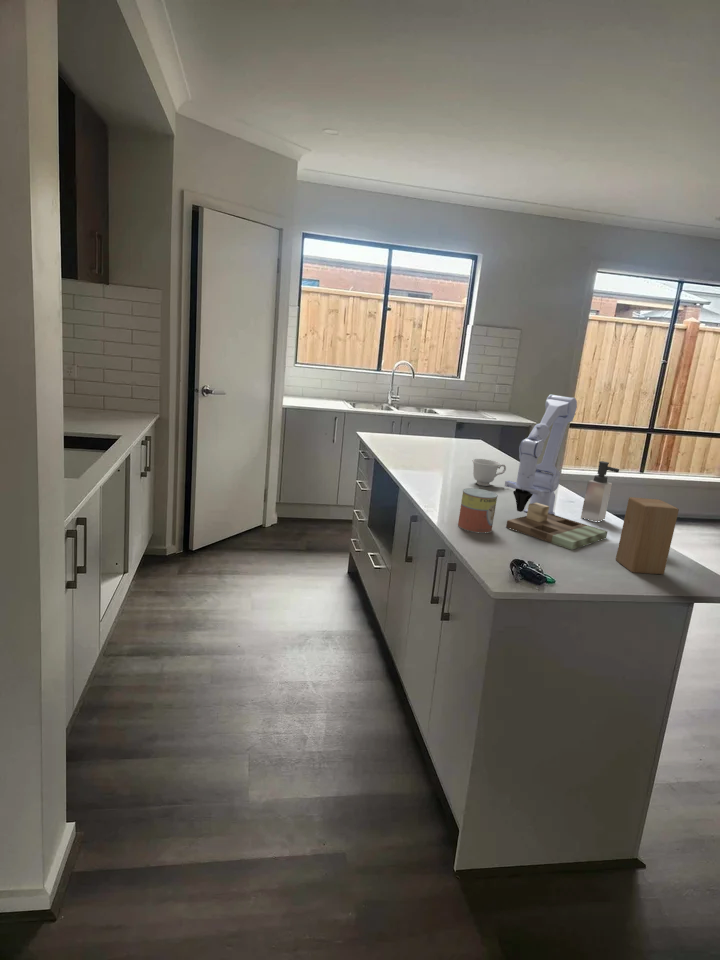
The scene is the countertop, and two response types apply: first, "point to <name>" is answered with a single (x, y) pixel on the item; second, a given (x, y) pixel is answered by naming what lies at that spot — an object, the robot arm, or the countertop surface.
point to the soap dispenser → (597, 494)
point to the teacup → (486, 471)
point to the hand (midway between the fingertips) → (520, 511)
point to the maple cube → (537, 512)
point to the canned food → (477, 510)
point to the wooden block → (646, 535)
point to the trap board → (558, 531)
